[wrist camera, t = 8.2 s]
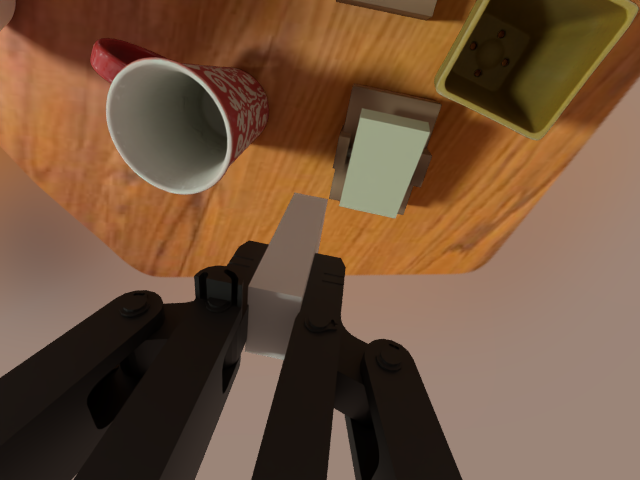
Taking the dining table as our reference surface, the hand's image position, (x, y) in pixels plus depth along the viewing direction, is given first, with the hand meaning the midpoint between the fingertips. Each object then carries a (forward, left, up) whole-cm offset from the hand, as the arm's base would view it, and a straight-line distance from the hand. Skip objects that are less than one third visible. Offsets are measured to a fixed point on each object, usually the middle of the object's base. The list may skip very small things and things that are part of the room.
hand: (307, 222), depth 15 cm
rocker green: (+1, +4, -17) cm, 18 cm away
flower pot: (-9, +11, -22) cm, 26 cm away
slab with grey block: (+1, +4, -22) cm, 22 cm away
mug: (-1, -13, -22) cm, 25 cm away
